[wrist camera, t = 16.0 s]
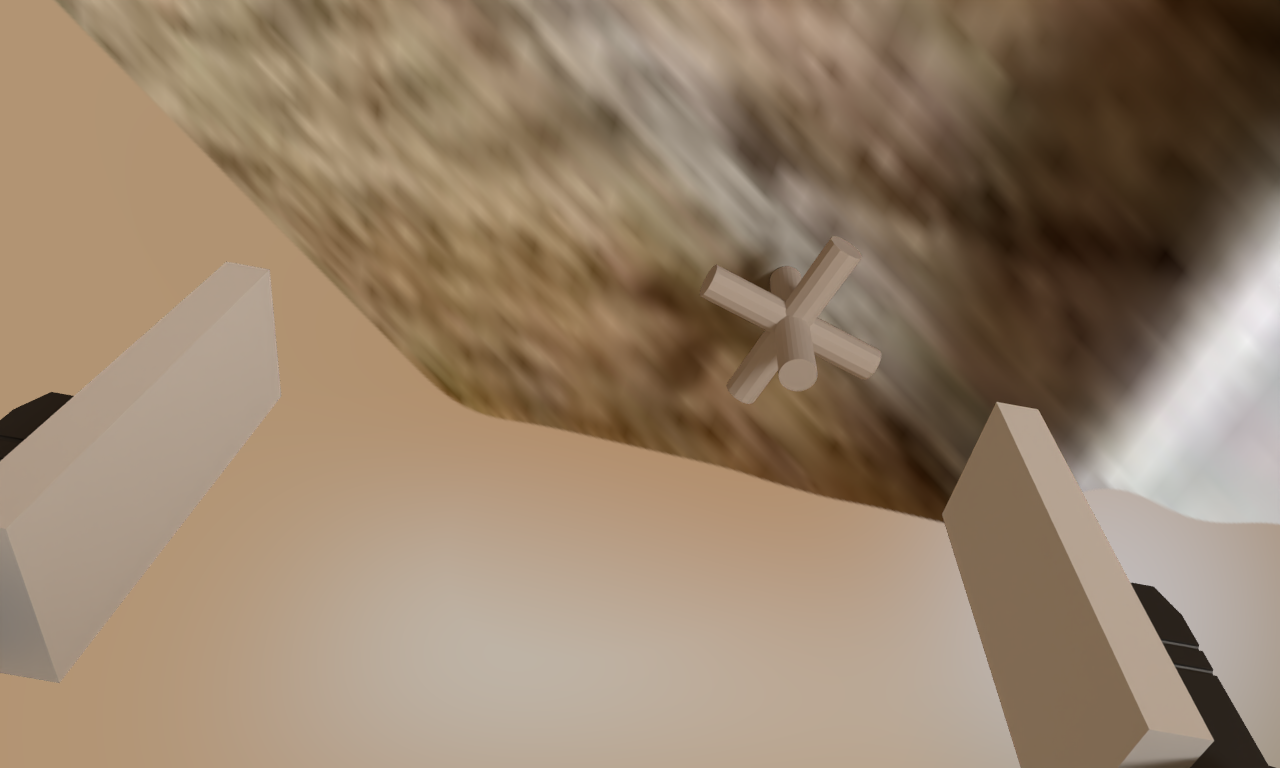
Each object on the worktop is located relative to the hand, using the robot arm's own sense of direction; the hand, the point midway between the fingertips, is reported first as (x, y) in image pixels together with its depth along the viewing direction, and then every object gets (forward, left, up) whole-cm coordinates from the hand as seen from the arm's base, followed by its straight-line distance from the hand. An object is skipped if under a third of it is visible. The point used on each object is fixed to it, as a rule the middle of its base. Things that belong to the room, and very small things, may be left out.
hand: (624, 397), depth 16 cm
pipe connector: (-8, +12, -32) cm, 35 cm away
